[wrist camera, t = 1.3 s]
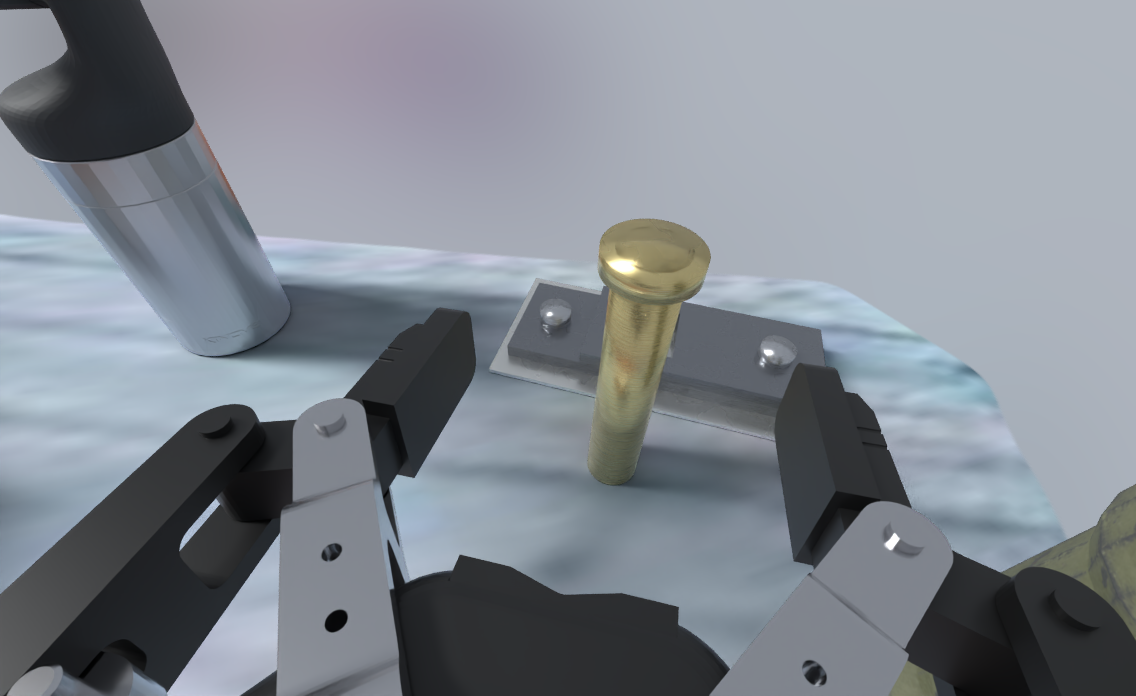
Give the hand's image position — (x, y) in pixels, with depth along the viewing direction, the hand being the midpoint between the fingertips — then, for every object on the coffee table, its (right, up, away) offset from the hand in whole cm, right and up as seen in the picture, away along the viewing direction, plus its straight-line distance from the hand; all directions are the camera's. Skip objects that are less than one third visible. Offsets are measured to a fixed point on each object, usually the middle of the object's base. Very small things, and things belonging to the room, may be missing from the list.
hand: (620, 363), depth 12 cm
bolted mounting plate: (+7, 0, +31) cm, 32 cm away
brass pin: (+2, -8, +24) cm, 25 cm away
